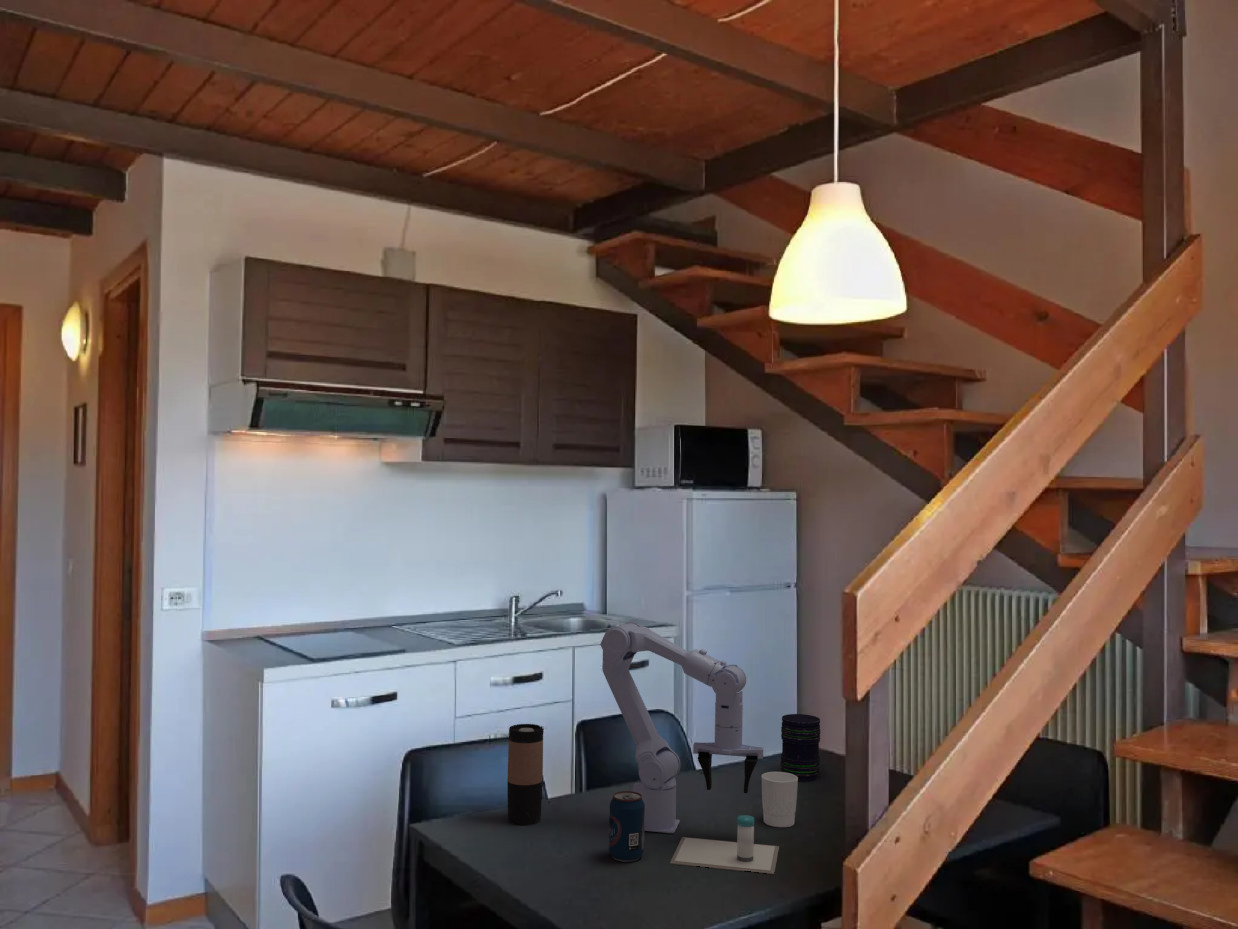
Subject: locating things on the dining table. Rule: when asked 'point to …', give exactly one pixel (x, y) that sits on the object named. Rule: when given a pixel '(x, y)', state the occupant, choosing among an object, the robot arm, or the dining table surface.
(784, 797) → the white cup
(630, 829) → the soda can
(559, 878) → the dining table surface
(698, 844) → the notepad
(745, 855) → the marker
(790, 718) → the storage jar
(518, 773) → the travel mug
